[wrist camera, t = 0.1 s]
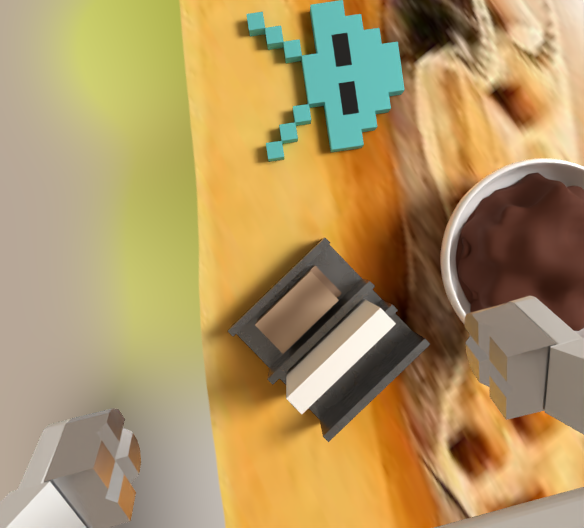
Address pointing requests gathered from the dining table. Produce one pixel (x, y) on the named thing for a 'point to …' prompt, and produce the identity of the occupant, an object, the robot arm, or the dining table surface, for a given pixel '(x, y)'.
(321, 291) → the offcut upper
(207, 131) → the dining table surface
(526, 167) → the bowl of chocolate
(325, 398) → the rack
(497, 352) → the robot arm
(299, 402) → the tall sheet
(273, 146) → the alien figure
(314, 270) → the offcut lower
